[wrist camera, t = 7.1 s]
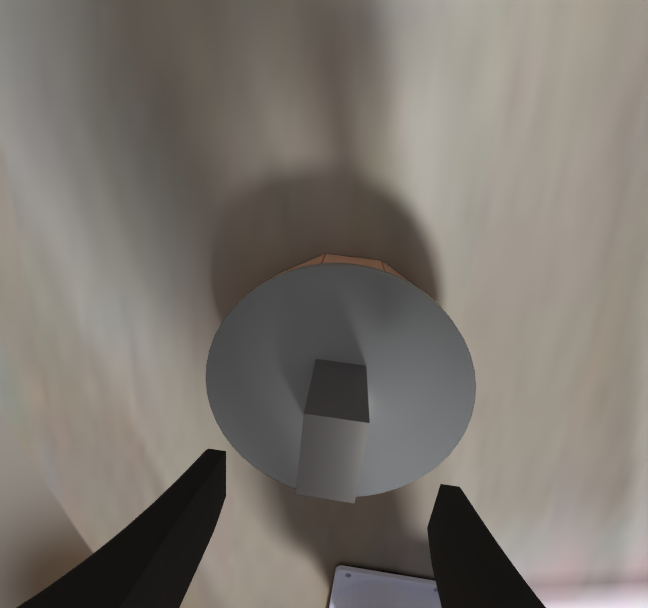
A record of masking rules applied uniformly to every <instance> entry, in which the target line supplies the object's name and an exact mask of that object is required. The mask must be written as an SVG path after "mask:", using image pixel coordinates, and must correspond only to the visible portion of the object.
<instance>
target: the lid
mask: <svg viewBox="0 0 648 608" xmlns="http://www.w3.org/2000/svg"><path fill="white" fill-rule="evenodd" d="M206 386H207V395H208V399H209V403H210V407H211V410H212V412H213V415H214V417H215V420H216V422H217V424H218V425H219V427H220V429H221V431H222V433H223V434H224V436H225V437H226V438H227V440H228V441H229V442H230V444H231V445H232V446H233V447H234V448H235V450H236V451H237V452H238V453H239V454H240V455H241V456H242V457H243V458H244V459H246V460H247V461H248V462H249V463H250V464H251V465H253V466H254V467H255V468H257V469H258V470H260V471H261V472H263V473H264V474H266V475H267V476H269V477H271V478H273V479H275V480H277V481H278V482H281V483H283V484H286V485H288V486H290V487H293V488H296V495H303V496H309V497H316V498H322V499H328V500H335V501H341V502H348V503H354V504H355V499H356V497H358V496H369V495H374V494H379V493H384V492H388V491H391V490H394V489H398V488H400V487H402V486H405V485H407V484H410V483H412V482H414V481H416V480H417V479H419V478H421V477H423V476H424V475H426V474H427V473H429V472H430V471H431V470H433V469H434V468H436V467H437V466H438V465H439V464H440V463H441V462H442V461H443V460H444V459H445V458H446V457H448V456H449V454H450V453H451V452H452V451H453V449H454V448H455V447H456V446H457V444H458V443H459V441H460V440H461V438H462V436H463V434H464V433H465V431H466V429H467V426H468V424H469V421H470V419H471V416H472V412H473V408H474V403H475V393H476V381H475V370H474V366H473V362H472V359H471V355H470V352H469V350H468V348H467V345H466V343H465V341H464V338H463V337H462V335H461V334H460V332H459V331H458V329H457V327H456V326H455V324H454V323H453V321H452V320H451V318H450V317H449V316H448V315H447V313H446V312H445V311H444V310H443V309H442V308H441V306H440V305H439V304H438V303H437V302H436V301H435V300H433V299H432V298H431V297H430V296H429V295H428V294H427V293H425V292H424V291H423V290H421V289H420V288H418V287H417V286H415V285H414V284H412V283H410V282H409V281H407V280H405V279H403V278H401V277H399V276H396V275H394V274H392V273H390V272H386V271H383V270H380V269H377V268H374V267H370V266H364V265H359V264H352V263H321V264H313V265H308V266H303V267H298V268H295V269H292V270H289V271H286V272H283V273H281V274H279V275H277V276H275V277H273V278H271V279H269V280H267V281H265V282H263V283H262V284H260V285H259V286H258V287H256V288H255V289H253V290H252V291H250V292H249V293H248V294H247V295H246V296H245V297H244V298H243V299H242V300H241V301H240V302H239V303H238V304H237V305H236V306H235V307H234V308H233V309H232V310H231V312H230V313H229V314H228V315H227V317H226V318H225V319H224V321H223V322H222V324H221V326H220V327H219V329H218V331H217V333H216V334H215V337H214V339H213V342H212V345H211V347H210V350H209V355H208V360H207V366H206Z"/></svg>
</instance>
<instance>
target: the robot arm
mask: <svg viewBox="0 0 648 608" xmlns="http://www.w3.org/2000/svg"><path fill="white" fill-rule="evenodd" d="M225 497H226V451H220V450H214V449H207V450H206V451H205V452H204V453H203V454H202V455H201V456H200V457H199V458H198V459H197V460H196V461H195V462H194V463H193V464H192V465H191V466H190V467H189V469H188V470H187V471H186V472H185V473H184V474H183V475H182V476H181V477H180V478H179V479H178V480H177V481H176V482H175V483H174V484H173V485H172V486H171V487H169V488H168V489H167V490H166V491H165V492H164V493H163V494H162V495H161V496H160V497H159V498H158V499H157V500H156V501H155V502H154V503H153V504H152V505H151V506H149V507H148V508H147V509H146V510H145V511H144V512H143V513H142V514H140V515H139V516H138V517H137V518H136V519H135V520H134V521H132V522H131V523H130V524H129V525H128V526H127V527H126V528H124V529H123V530H122V531H121V532H120V533H118V534H117V535H116V536H115V537H114V538H112V539H111V540H110V541H109V542H107V543H106V544H105V545H104V546H102V547H101V548H100V549H99V550H97V551H96V552H95V553H93V554H92V555H91V556H90V557H88V558H87V559H86V560H84V561H83V562H82V563H80V564H79V565H78V566H76V567H75V568H73V569H72V570H71V571H69V572H68V573H67V574H65V575H64V576H62V577H61V578H60V579H59V580H57V581H56V582H54V583H53V584H51V585H50V586H48V587H47V588H45V589H44V590H43V591H41V592H40V593H38V594H37V595H35V596H34V597H32V598H31V599H29V600H28V601H26V602H24V603H23V604H21V605H20V606H18V607H17V608H179V607H180V605H181V603H182V601H183V598H184V596H185V594H186V592H187V589H188V587H189V585H190V583H191V581H192V578H193V576H194V574H195V572H196V570H197V567H198V565H199V563H200V561H201V559H202V556H203V554H204V552H205V550H206V547H207V545H208V543H209V541H210V539H211V536H212V534H213V532H214V529H215V527H216V524H217V521H218V518H219V515H220V512H221V509H222V506H223V503H224V500H225ZM427 529H428V537H429V546H430V554H431V561H432V567H433V572H434V576H435V581H434V580H428V579H422V578H416V577H410V576H404V575H398V574H392V573H386V572H379V571H373V570H367V569H361V568H355V567H349V566H343V565H340V566H338V567H336V570H335V576H334V581H333V587H332V593H331V598H330V604H329V608H546V607H545V606H544V605H543V604H542V602H541V601H540V600H539V599H538V597H537V596H536V595H535V593H534V592H533V591H532V589H531V588H530V587H529V586H528V584H527V583H526V582H525V580H524V579H523V578H522V576H521V575H520V574H519V572H518V571H517V570H516V568H515V567H514V566H513V564H512V563H511V561H510V560H509V559H508V557H507V556H506V554H505V553H504V552H503V550H502V549H501V547H500V546H499V545H498V543H497V542H496V540H495V539H494V537H493V536H492V534H491V533H490V532H489V530H488V529H487V527H486V526H485V524H484V523H483V521H482V520H481V518H480V517H479V515H478V514H477V512H476V511H475V509H474V508H473V506H472V505H471V503H470V502H469V500H468V499H467V497H466V495H465V494H464V492H463V491H462V490H461V488H460V487H457V486H450V485H443V484H441V485H440V488H439V491H438V495H437V498H436V501H435V505H434V508H433V511H432V514H431V518H430V521H429V524H428V527H427Z"/></svg>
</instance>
